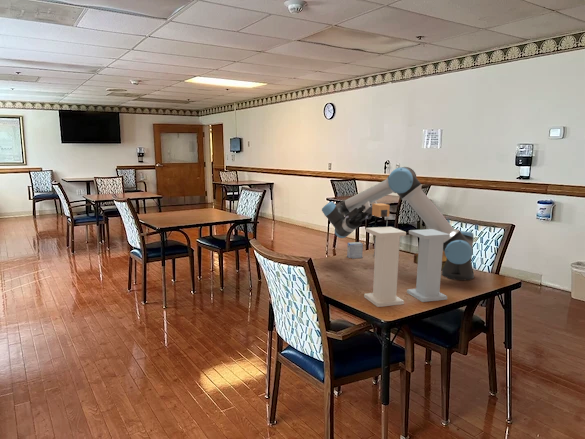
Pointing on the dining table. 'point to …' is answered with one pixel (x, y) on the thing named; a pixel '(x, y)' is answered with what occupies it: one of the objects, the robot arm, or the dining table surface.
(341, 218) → the robot arm
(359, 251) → the medicine box
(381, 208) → the orange and black bar
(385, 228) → the stand
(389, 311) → the dining table surface
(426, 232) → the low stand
